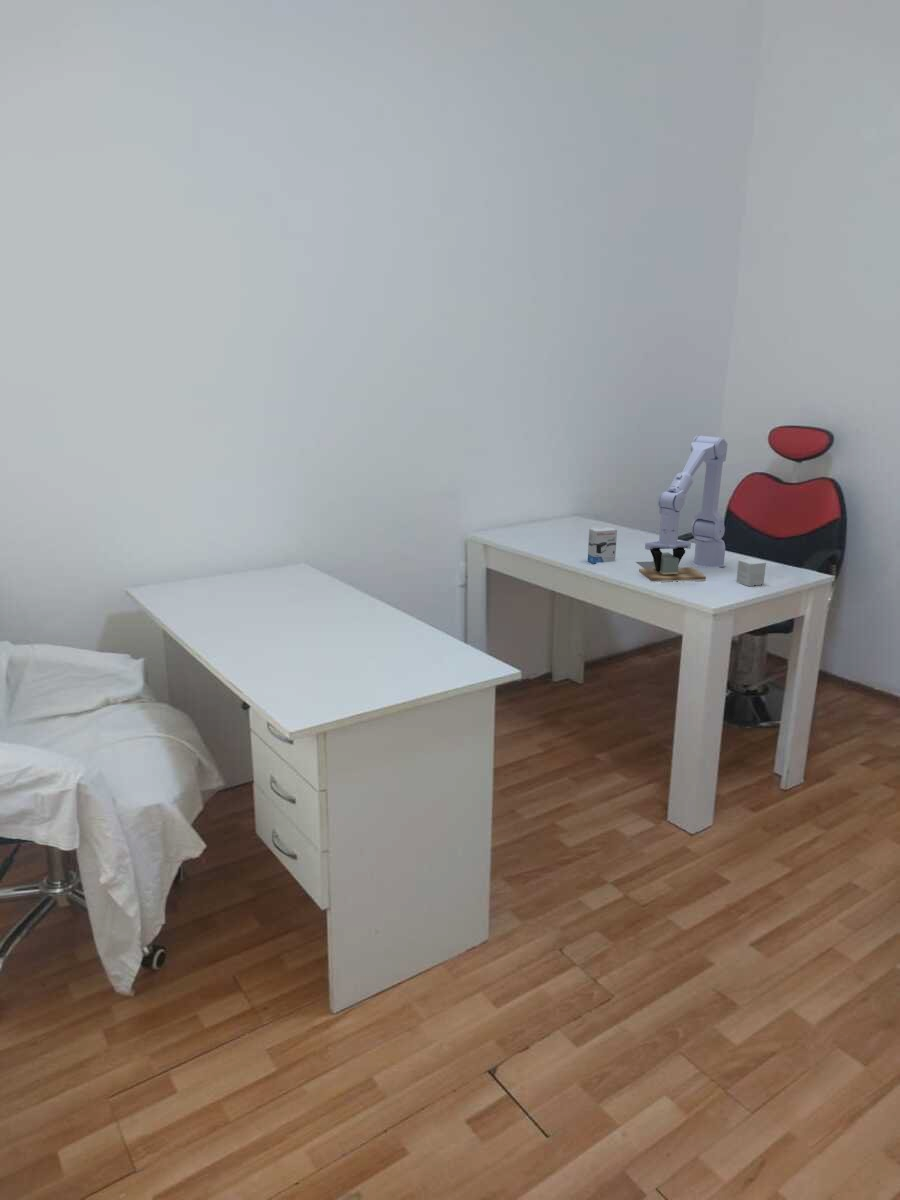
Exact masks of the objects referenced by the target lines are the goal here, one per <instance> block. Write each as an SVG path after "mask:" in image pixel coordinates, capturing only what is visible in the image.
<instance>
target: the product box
mask: <svg viewBox="0 0 900 1200" xmlns="http://www.w3.org/2000/svg"><path fill="white" fill-rule="evenodd" d="M766 566H767V563H766V562H765V561H762V560H759V559H756V558H754V557H753V558H746V559H738V563H737V573H736V583H738V584H741V585H744V586H746V587H755V586H754V585H756V586H762V585H761V584H763V585H765V577H766V576H765V575H766V568H767V567H766Z"/></svg>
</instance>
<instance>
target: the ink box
mask: <svg viewBox="0 0 900 1200" xmlns="http://www.w3.org/2000/svg"><path fill="white" fill-rule="evenodd" d="M617 534H618V530H617V529H615V528H613V527H612V526H602V527H601V526H600V527H591V528H589V529H588V549H587V562H589V563H591V564H592V565H597V563H610V562H616V556H617V555H616V554H617V553H616V551H617V537H618V536H617Z"/></svg>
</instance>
